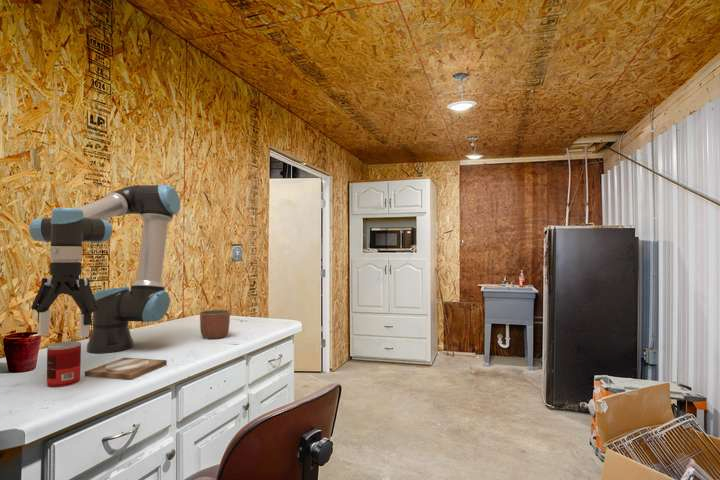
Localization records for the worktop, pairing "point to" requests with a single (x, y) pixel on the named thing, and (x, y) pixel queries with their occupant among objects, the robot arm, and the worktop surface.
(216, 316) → the planter
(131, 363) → the board
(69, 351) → the canned food
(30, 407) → the worktop surface
